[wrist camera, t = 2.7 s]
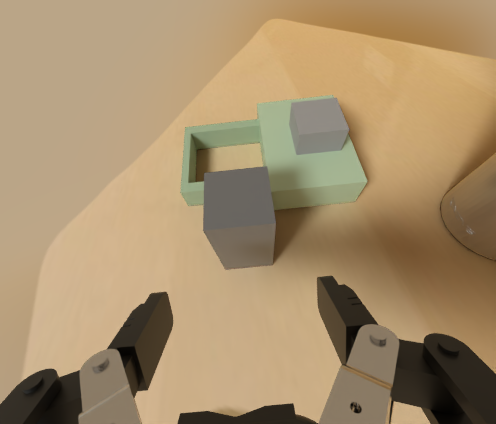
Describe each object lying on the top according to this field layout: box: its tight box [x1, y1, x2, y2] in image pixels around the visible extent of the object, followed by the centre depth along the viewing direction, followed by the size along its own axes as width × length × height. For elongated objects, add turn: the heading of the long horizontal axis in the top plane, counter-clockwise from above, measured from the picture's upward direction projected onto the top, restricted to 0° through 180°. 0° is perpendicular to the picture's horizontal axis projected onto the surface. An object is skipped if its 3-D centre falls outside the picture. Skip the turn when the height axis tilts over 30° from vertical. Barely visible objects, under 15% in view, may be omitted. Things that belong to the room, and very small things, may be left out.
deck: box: [181, 95, 368, 210], centre depth 28 cm, size 20×14×7 cm
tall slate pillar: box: [203, 166, 276, 270], centre depth 22 cm, size 5×5×10 cm
